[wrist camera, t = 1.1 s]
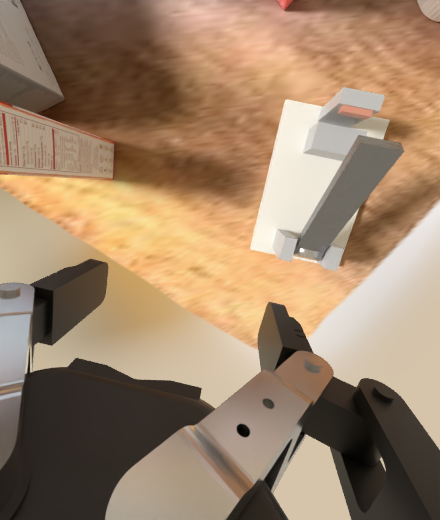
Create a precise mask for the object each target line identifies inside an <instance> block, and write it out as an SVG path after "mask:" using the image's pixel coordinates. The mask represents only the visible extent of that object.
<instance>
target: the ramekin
mask: <svg viewBox="0 0 440 520" xmlns="http://www.w3.org/2000/svg"><path fill="white" fill-rule="evenodd" d="M417 2H418V5H419V8H420V10H421V11H422V13H423V14H424V15H425V16H426V17H427V18H429V19H431V20H433V21H436V22H440V0H417Z"/></svg>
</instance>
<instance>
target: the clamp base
mask: <svg viewBox="0 0 440 520" xmlns="http://www.w3.org/2000/svg"><path fill="white" fill-rule="evenodd" d="M384 97H385V95H381V94H376V93H371V92H366V91H361V90H356V89H351V88H346V87H343V88H342V89H341V90H340V91H339V92H338V93H337V94H336V95H335V96H334V97H333V98H332V99H331V100H330V101H329V102H328V103H327V104H326V105H325V106H324V107H322V106H317V105H312V104H307V103H302V102H297V101H292V100H287V99H286V100H285V102H284V107H283V111H282V115H281V119H280V123H279V128H278V132H277V136H276V140H275V145H274V149H273V153H272V157H271V162H270V166H269V170H268V174H267V178H266V183H265V187H264V191H263V195H262V200H261V204H260V208H259V212H258V217H257V221H256V225H255V229H254V234H253V238H252V242H251V246H250V249H251V250H256V251H261V252H266V253H270V254H275V255H277V257H278V258H279V259H280V260H285V261H290V262H291V261H292V258H295V259H299V260H304V261H309V262H314V263H319V264H320V265H321V266H322V267H323V268H324V269H329V270H333V271H337V269H338V267H339V264H340V261H341V258H342V255H343V253H344V250H345V247H346V244H347V241H348V238H349V235H350V233H351V230H352V227H353V224H354V221H355V218H356V215H357V213H358V210H359V209H358V210H357V211H356V213H355V214H354V215H353V216H352V218H351V219H350V220H349V221H348V223H347V224H346V225H345V226H344V228H343V229H342V230H341V231H340V233H339V234H338V235H337V237H336V238H335V239H334V240H333V242H332V243H331V244H330V245H329V247H328V248H327V249H326V250H325V252H324V253H323V256H322V258H321V260H320V261H315V260H310V259H305V258H301V257H296V256H293V254H294V250H295V247H296V243H297V240H298V237H299V235H300V233H301V232H302V230H303V228H304V227H305V225H306V223H307V222H308V220H309V218H310V216H311V215H312V213H313V211H314V210H315V208H316V206H317V205H318V203H319V201H320V199H321V198H322V196H323V194H324V193H325V191H326V189H327V188H328V186H329V184H330V182H331V181H332V179H333V177H334V176H335V174H336V172H337V171H338V169H339V167H340V165H341V164H342V162H343V160H344V159H345V157H346V155H347V154H348V152H349V150H350V148H351V147H352V145H353V143H354V142H355V140H356V138H357V136H358V135H362V136H367V137H373V138H378V139H383V138H384V135H385V133H386V130H387V127H388V124H389V121H390V120H388V119H383V118H378V117H373V116H372V115H374V114H376V113H377V112H379V111H380V109H381V106H382V103H383V100H384Z"/></svg>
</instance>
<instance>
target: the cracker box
mask: <svg viewBox="0 0 440 520" xmlns="http://www.w3.org/2000/svg"><path fill="white" fill-rule="evenodd" d="M114 144H115V143H114V142H113V141H110V140H107V139H104V138H102V137H99V136H96V135H93V134H90V133H87V132H85V131H82V130H79V129H77V128H74V127H71V126H68V125H66V124H63V123H60V122H57V121H55V120H52V119H49V118H46V117H44V116H41V115H38V114H36V113H33V112H30V111H28V110H25V109H22V108H20V107H17V106H14V105H12V104H9V103H6V102H4V101H1V100H0V174H5V175H22V176H46V177H65V178H84V179H105V180H113V173H114Z"/></svg>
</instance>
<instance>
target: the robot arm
mask: <svg viewBox="0 0 440 520" xmlns="http://www.w3.org/2000/svg"><path fill="white" fill-rule="evenodd" d="M107 276H108V264H107V263H106V262H102V261H98V260H94V259H89V260H87V261H85V262H83V263H81V264H79V265H76V266H73V267H67V268H64V269H62V270H60V271H58V272H57V273H53V274H51V275H50V276H47V277H45V278H43V279H40V280H39V281H36V282H34V283H32V284H30V285H28V284H24V283H3V284H0V520H288V518H287V516H286V515H285V513H284V512H283V510H282V508H281V507H280V505H279V503H278V502H277V500H276V499H275V497H274V495H273V493H274V491H275V489H276V487H277V485H278V483H279V481H280V479H281V477H282V475H283V474H284V472H285V470H286V469H287V467H288V465H289V464H290V462H291V460H292V459H293V457H294V455H295V454H296V452H297V450H298V449H299V447H300V445H301V444H302V442H303V440H304V439H305V437H306V435H309V436H311V437H313V438H314V439H316V440H318V441H320V442H322V443H324V444H325V445H327V446H329V447H330V449H331V453H332V456H333V459H334V463H335V466H336V470H337V473H338V476H339V480H340V483H341V486H342V489H343V493H344V496H345V499H346V503H347V506H348V509H349V513H350V516H351V519H352V520H440V450H439V449H438V447H437V446H436V444H435V443H434V442H433V440H432V439H431V437H430V436H429V435H428V433H427V432H426V431H425V429H424V428H423V426H422V425H421V424H420V422H419V421H418V419H417V418H416V417H415V415H414V414H413V412H412V411H411V410H410V409H409V407H408V406H407V404H406V403H405V401H404V400H403V399H402V398H401V397H400V396H399V395H398V394H397V393H396V392H395V391H394V390H392V389H391V388H389V387H388V386H386V385H385V384H383V383H381V382H378V381H376V380H373V379H368V378H364V379H361V380H360V382H359V384H358V386H357V387H354V386H352V385H350V384H348V383H346V382H343V381H341V380H339V379H337V378H335V377H333V369H332V367H331V366H330V365H329V364H328V363H327V362H326V361H325V360H324V359H323V358H321V357H320V356H318V355H316V354H314V353H313V351H312V349H311V347H310V345H309V342H308V340H307V339H306V336H305V333H303V332H304V331H303V329H302V327H301V325H300V324H299V323H298V322H297V321H296V320H295V319H294V318H292V317H289V315H288V313H287V310H286V308H285V306H284V305H280V304H276V303H272V302H269V303H268V305H267V307H266V310H265V313H264V317H263V320H262V323H261V326H260V329H259V333H258V349H259V357H260V365H261V372H260V373H259V374H257V375H256V376H255V377H254V378H252V379H251V380H250V381H249V382H248V383H246V384H245V385H244V386H243V387H242V388H240V389H239V390H238V391H237V392H236V393H234V394H233V395H232V396H231V397H230V398H228V399H227V400H226V401H225V402H223V403H222V404H221V405H220V406H219V407H217V408H216V409H215V408H214V407H212V406H211V405H210V404H208V403H207V402H205V401H203V400H201V399H200V394H201V388H199V387H195V386H190V385H187V384H182V383H178V382H174V381H165V380H137V379H133V378H131V377H129V376H127V375H125V374H123V373H121V372H119V371H117V370H115V369H113V368H111V367H109V366H107V365H103V364H99V363H95V362H91V361H87V360H83V359H78V358H76V359H75V360H74V361H73V362H72V363H71V364H70V365H69V366H68V367H59V368H49V369H43V370H38V371H34V372H33V365H34V345H35V344H36V343H38V342H39V343H43V344H47V345H51V346H52V345H53V344H54V343H56V342H57V341H58V340H59V339H60V338H62V337H63V336H64V335H65V334H66V333H67V332H69V331H70V330H71V329H72V328H73V327H74V326H76V325H77V324H78V323H79V322H80V321H82V320H83V319H84V318H85V317H86V316H87V315H89V314H90V313H91V312H92V311H93V310H94V309H96V308H97V307H98V306H99V305H100V304H101V303H102V301H103V300H104V298H105V294H106V286H107ZM381 457H382V458H383V461H384V464H385V468H386V472H385V470H384V467H383V465H382V463H381V461H380V458H381Z"/></svg>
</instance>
